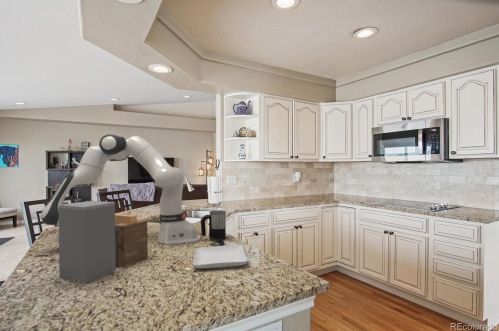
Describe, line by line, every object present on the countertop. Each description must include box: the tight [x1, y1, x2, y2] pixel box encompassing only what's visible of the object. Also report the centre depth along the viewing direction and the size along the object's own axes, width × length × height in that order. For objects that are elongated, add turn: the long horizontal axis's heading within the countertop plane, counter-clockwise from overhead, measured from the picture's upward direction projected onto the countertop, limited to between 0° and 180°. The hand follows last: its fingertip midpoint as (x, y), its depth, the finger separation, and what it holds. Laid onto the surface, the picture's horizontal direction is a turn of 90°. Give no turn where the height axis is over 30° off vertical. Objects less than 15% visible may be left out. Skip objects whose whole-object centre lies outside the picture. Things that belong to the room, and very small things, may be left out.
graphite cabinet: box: [58, 200, 117, 284], centre depth 99 cm, size 14×12×26 cm
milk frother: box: [200, 210, 227, 245], centre depth 140 cm, size 14×16×15 cm
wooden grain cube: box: [115, 219, 149, 268], centre depth 113 cm, size 14×12×16 cm
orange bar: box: [115, 213, 138, 224], centre depth 116 cm, size 22×3×3 cm, turn 66°
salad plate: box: [192, 244, 249, 270], centre depth 111 cm, size 21×21×3 cm
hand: (98, 212), depth 120 cm, fingers open, 8 cm apart
